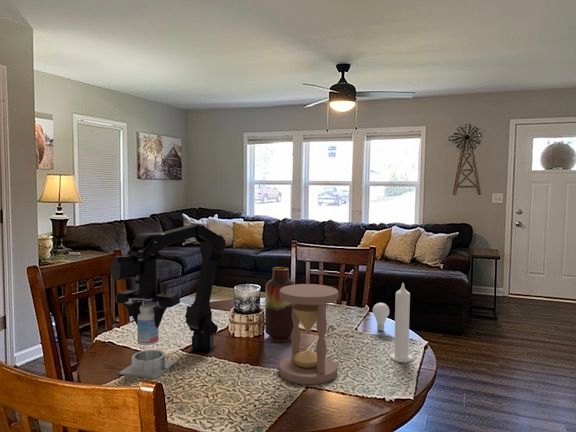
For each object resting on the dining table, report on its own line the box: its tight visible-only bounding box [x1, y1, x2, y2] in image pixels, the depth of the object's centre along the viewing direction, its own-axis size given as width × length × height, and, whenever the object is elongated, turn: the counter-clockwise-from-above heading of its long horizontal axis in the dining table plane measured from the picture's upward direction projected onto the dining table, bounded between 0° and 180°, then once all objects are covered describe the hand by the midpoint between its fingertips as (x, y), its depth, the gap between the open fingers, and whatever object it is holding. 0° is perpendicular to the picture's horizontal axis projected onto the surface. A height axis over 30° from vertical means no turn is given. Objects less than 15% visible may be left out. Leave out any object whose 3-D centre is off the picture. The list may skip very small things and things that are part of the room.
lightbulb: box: [372, 302, 390, 332], centre depth 173 cm, size 6×6×11 cm
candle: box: [389, 282, 413, 363], centre depth 144 cm, size 7×7×25 cm
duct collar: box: [118, 349, 177, 380], centre depth 135 cm, size 12×12×4 cm
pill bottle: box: [136, 303, 160, 346], centre depth 134 cm, size 6×6×11 cm
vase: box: [264, 266, 296, 344], centre depth 162 cm, size 11×11×26 cm
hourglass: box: [278, 283, 340, 386], centre depth 133 cm, size 18×18×25 cm
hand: (148, 326), depth 135 cm, fingers closed on pill bottle, 6 cm apart
